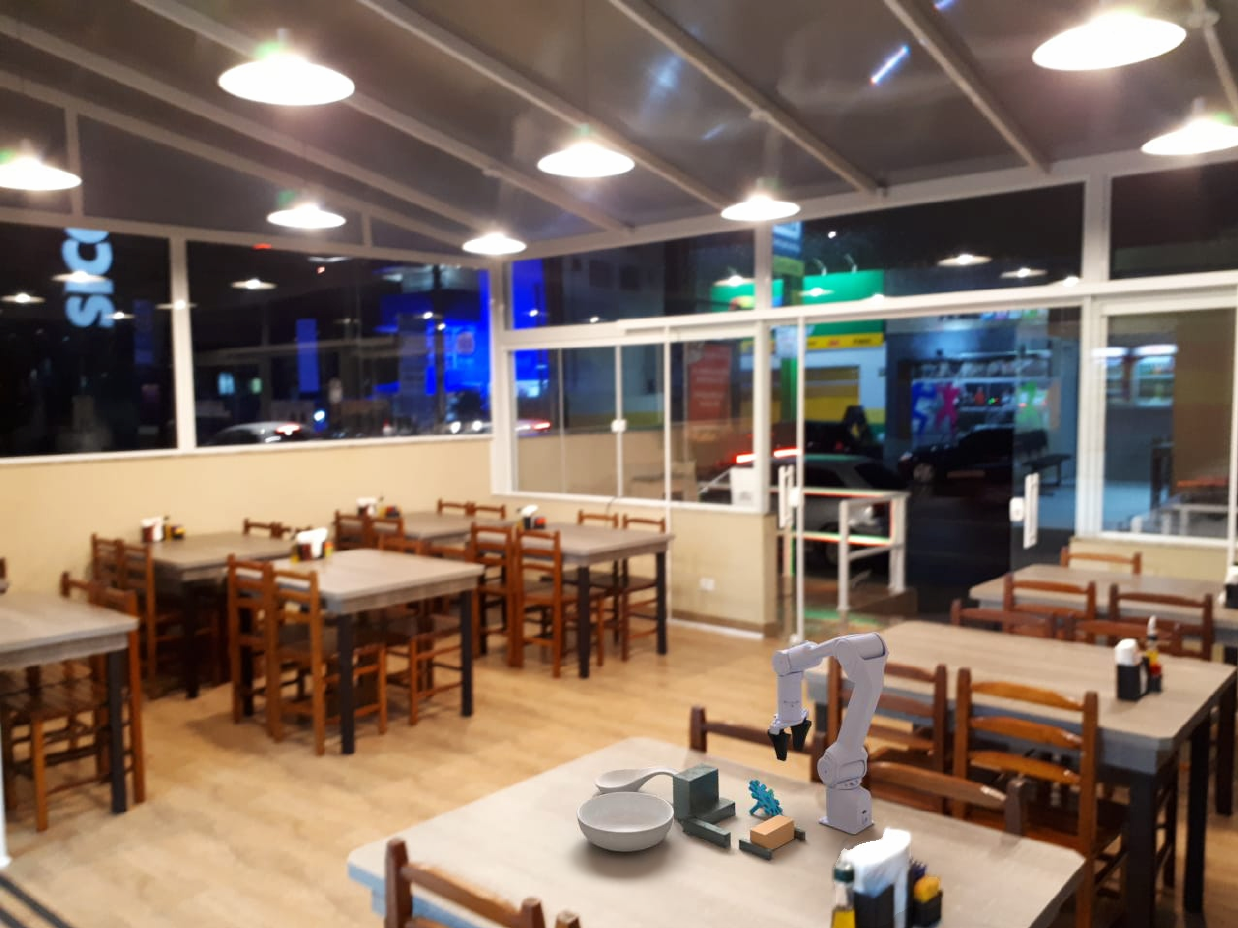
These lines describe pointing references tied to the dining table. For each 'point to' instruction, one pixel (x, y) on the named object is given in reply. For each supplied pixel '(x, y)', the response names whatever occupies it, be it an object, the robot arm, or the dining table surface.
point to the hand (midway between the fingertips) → (790, 754)
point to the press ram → (773, 832)
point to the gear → (764, 799)
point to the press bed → (710, 810)
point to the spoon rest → (630, 778)
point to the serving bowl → (625, 820)
